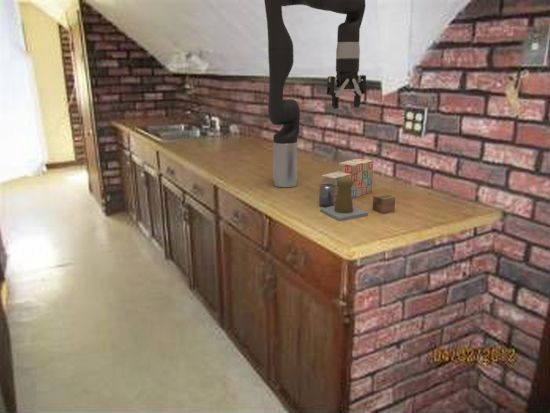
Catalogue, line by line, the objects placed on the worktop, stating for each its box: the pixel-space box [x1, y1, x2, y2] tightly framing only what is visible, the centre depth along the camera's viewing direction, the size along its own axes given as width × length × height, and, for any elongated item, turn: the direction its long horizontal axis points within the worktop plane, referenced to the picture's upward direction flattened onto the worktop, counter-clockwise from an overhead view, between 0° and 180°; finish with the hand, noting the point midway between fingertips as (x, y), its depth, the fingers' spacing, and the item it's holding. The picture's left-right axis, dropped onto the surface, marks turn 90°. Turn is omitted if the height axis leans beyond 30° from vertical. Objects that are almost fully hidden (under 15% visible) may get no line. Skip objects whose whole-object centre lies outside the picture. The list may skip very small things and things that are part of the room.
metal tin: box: [318, 183, 335, 208], centre depth 161 cm, size 5×5×7 cm
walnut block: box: [372, 193, 396, 215], centre depth 155 cm, size 5×5×5 cm
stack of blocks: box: [321, 158, 374, 204], centre depth 171 cm, size 21×6×12 cm, turn 132°
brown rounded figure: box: [334, 177, 354, 213], centre depth 151 cm, size 6×6×11 cm
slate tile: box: [319, 205, 369, 222], centre depth 153 cm, size 11×11×1 cm
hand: (346, 107), depth 158 cm, fingers open, 8 cm apart
